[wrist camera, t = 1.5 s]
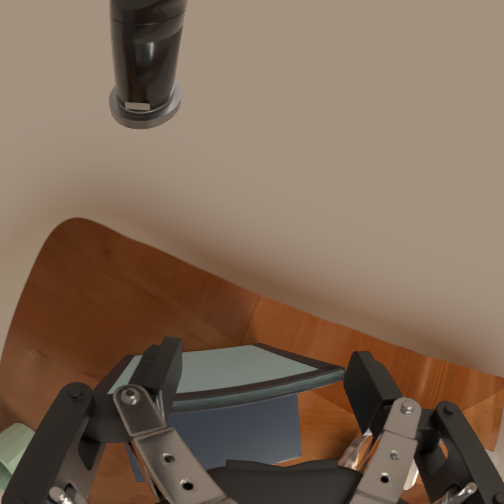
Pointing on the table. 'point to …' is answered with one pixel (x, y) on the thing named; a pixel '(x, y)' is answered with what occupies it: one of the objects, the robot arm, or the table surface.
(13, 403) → the table surface
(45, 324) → the table surface
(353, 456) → the decorative sculpture
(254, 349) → the glass door
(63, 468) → the robot arm
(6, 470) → the cup
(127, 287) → the table surface
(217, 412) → the cabinet
